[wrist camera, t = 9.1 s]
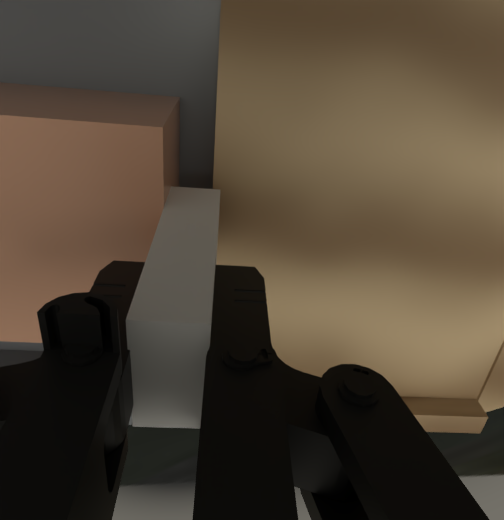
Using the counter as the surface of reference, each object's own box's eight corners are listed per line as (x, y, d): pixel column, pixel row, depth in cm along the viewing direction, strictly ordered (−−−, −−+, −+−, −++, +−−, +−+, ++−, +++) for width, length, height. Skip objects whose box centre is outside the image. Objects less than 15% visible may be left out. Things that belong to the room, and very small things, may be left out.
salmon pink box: (-82, 75, 14) (-187, 100, 10) (179, 96, 14) (163, 127, 11) (-31, 269, 17) (-98, 337, 14) (178, 280, 18) (165, 348, 14)
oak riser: (228, -106, 13) (226, -146, 10) (808, -39, 15) (997, -53, 11) (206, 355, 22) (201, 425, 19) (570, 370, 24) (631, 437, 20)
